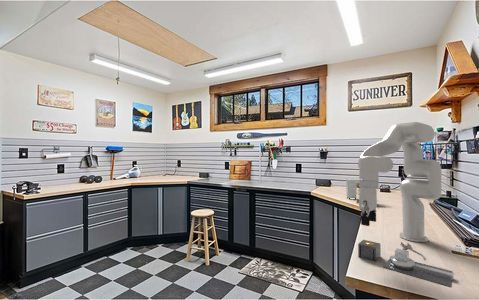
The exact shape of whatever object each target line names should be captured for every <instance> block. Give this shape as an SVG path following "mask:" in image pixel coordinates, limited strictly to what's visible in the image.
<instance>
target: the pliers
mask: <svg viewBox="0 0 479 300" xmlns="http://www.w3.org/2000/svg"><path fill="white" fill-rule="evenodd" d="M406 244H407V245H406ZM406 244H405V243H403V241H401V242H400V246H401V247H402V248H401V249H402V250H406V251H407V249H408V251H412V252H413V253H415V254H417V255H419V256H421V257H422V259H423V261H426V257H425V256H424V255H423V254H422V253H420V252H418V251H416V250H415V249H413V248H412V245H411V244H410V243H409V242H406Z"/></svg>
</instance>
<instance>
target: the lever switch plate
mask: <svg viewBox="0 0 479 300" xmlns="http://www.w3.org/2000/svg"><path fill="white" fill-rule="evenodd" d="M402 249H403V248H396V249H395V250H394V255H389V259H388V260H387V261H386V262H385V263H384V265H383V268H384V269H388V270H391V271H393V272H398V273H402V274H405V275H409V276H412V277H415V278H418V279H422V280H425V281H429V282H432V283H436V284H439V285H442V286H445V287H449V288H450V287H451V282H452V281H453V280H454V273H453V271H452V270H449V269H445V268H442V267H438V266H433V265H430V264H426V263H421V262H417V261H414V260H413V259H411V258H410V254H409V253H410V250H407V249H406V250H402Z"/></svg>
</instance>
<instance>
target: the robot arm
mask: <svg viewBox="0 0 479 300" xmlns="http://www.w3.org/2000/svg"><path fill="white" fill-rule="evenodd" d="M386 132H387V133H386V134H385V135H384V137H383V138H382V140H381V141H378V142H376V143H375V144H373V145H371V146H369V147H367V148H366V149H365V150H364V151H363V152H362V153H361V155H360V157H359V159H358V160H357V161H358V162H357V163H358V164H357V166H358V169H359V170H358V171H359V174H358V175H359V177H358V179H359V187H361V188H360V195H359V204H358V209H359V210H360V224H361V226H366V227H370V224H371V223H370V222H373V223H375V222H377V207H378V206H377V204H378V198H377V197H378V196H377V195H378V194H377V192H378V191H377V190H378V189H379V185H380V184H379V175H380V174H379V173H382V174H384V173H385V174H386V173H389V172H391V171H392V169H393V168H394V161H393V160H392V158H391V157H388V156H389V155H391V154H395V153H397V152H399V150H400V149H401V148H402V150H403V172H404V175H405V176H407V177H411V178H410V179H409V178H407V179H404V180H402V181H401V182H400V186H399V189H400V194H401V200H402V202H401V203H402V204H401V205H402V206H401V207H402V232H400V233H398V234H399V237H400V238H401V239H403V240H406V241H410V242H416V243H426V242H428V241H429V237H427V236H426V235H425V233H426V232H425V205H424V203H423V202H422V200H423V199H424V200H437V201H438V200H439V199H440V198H441V196H442V166H441V164H440V162H439V161H437V160H436V159H424V149H423V148H422V146H421V145H420V144H419V143H429V142H431V141H433V140H434V139H435V135H436V132H435V129H434V128H433V127H432V126H431V125H429V124H427V123H422V122H418V121H414V122H413V121H412V122H411V121H410V122H403V123H396V124H394V125H392V126H391V127H390V128H389V130H388V131H386ZM412 177H413V178H426V179H427V180H423V179H412ZM421 199H422V200H421Z"/></svg>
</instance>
